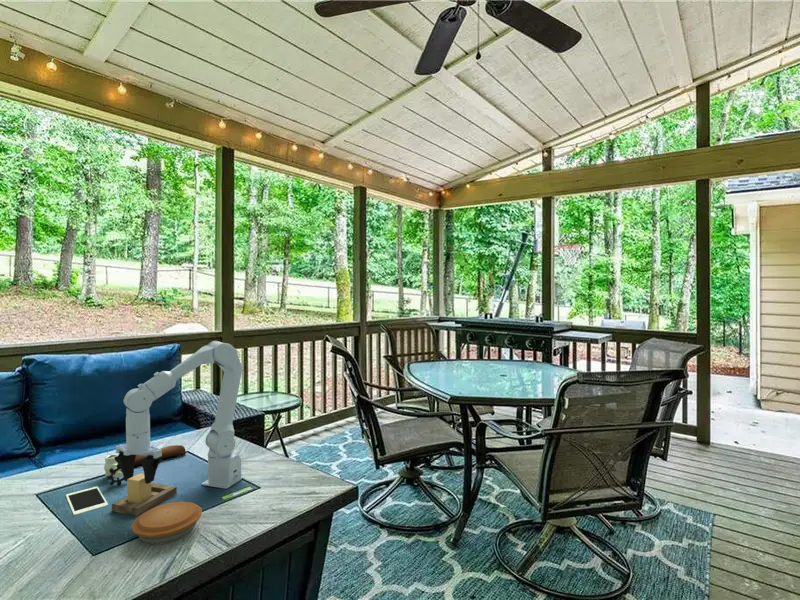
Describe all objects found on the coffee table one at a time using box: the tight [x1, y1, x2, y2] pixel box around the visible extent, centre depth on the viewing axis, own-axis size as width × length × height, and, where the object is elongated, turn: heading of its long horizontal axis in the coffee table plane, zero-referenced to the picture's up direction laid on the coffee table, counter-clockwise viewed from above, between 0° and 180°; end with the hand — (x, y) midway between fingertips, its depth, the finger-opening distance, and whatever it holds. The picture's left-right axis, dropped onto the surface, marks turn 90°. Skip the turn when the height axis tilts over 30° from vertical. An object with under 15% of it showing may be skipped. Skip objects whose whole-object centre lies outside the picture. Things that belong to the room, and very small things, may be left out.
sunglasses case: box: [134, 444, 187, 467], centre depth 153 cm, size 18×7×7 cm
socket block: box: [111, 482, 178, 517], centre depth 121 cm, size 9×13×2 cm
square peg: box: [127, 472, 152, 504], centre depth 119 cm, size 4×4×8 cm
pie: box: [131, 501, 203, 546], centre depth 106 cm, size 15×16×5 cm
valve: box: [103, 453, 128, 487], centre depth 135 cm, size 7×7×12 cm
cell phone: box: [65, 486, 109, 516], centre depth 122 cm, size 8×16×1 cm, turn 45°
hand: (139, 480), depth 119 cm, fingers open, 7 cm apart
